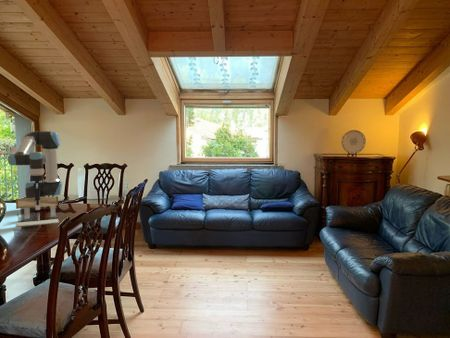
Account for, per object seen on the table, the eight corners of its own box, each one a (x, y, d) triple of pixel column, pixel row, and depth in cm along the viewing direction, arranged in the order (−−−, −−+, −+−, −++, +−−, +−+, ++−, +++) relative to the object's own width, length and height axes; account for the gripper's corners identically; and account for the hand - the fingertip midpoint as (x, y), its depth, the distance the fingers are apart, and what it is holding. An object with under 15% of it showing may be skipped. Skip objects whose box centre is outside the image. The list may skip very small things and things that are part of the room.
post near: (23, 219, 219) (22, 203, 219) (31, 218, 222) (31, 203, 221) (22, 221, 214) (22, 205, 213) (31, 220, 217) (30, 204, 216)
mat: (17, 223, 209) (17, 222, 209) (58, 219, 221) (58, 218, 221) (16, 227, 200) (16, 226, 200) (58, 222, 212) (58, 222, 212)
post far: (49, 217, 227) (48, 202, 226) (57, 216, 230) (56, 201, 229) (49, 219, 222) (48, 203, 221) (57, 218, 225) (56, 202, 224)
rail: (16, 207, 205) (16, 198, 205) (58, 204, 217) (57, 195, 217) (16, 208, 202) (15, 199, 201) (58, 205, 214) (57, 196, 213)
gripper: (30, 173, 213) (32, 207, 215) (29, 176, 199) (30, 212, 200) (43, 173, 217) (44, 206, 219) (43, 175, 202) (44, 211, 204)
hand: (38, 209), depth 210 cm, fingers closed on rail, 4 cm apart
